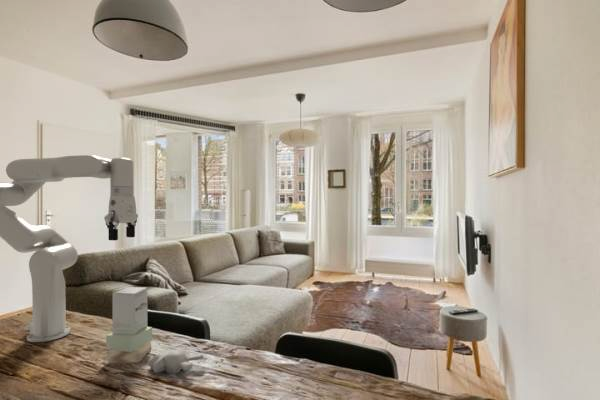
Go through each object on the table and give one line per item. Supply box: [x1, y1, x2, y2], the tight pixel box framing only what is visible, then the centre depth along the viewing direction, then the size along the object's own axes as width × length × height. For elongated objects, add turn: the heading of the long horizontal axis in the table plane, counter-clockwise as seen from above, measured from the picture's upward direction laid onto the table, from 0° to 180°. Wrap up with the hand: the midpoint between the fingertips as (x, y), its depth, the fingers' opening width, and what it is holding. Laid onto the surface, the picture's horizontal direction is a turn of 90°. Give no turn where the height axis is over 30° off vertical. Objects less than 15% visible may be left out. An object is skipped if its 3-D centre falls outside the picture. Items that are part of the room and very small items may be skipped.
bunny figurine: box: [147, 348, 205, 374], centre depth 96 cm, size 10×5×15 cm
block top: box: [105, 326, 153, 352], centre depth 104 cm, size 9×9×4 cm
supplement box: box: [112, 286, 148, 335], centre depth 105 cm, size 7×7×13 cm
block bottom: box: [107, 340, 152, 364], centre depth 104 cm, size 9×9×4 cm
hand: (122, 238), depth 123 cm, fingers open, 9 cm apart
